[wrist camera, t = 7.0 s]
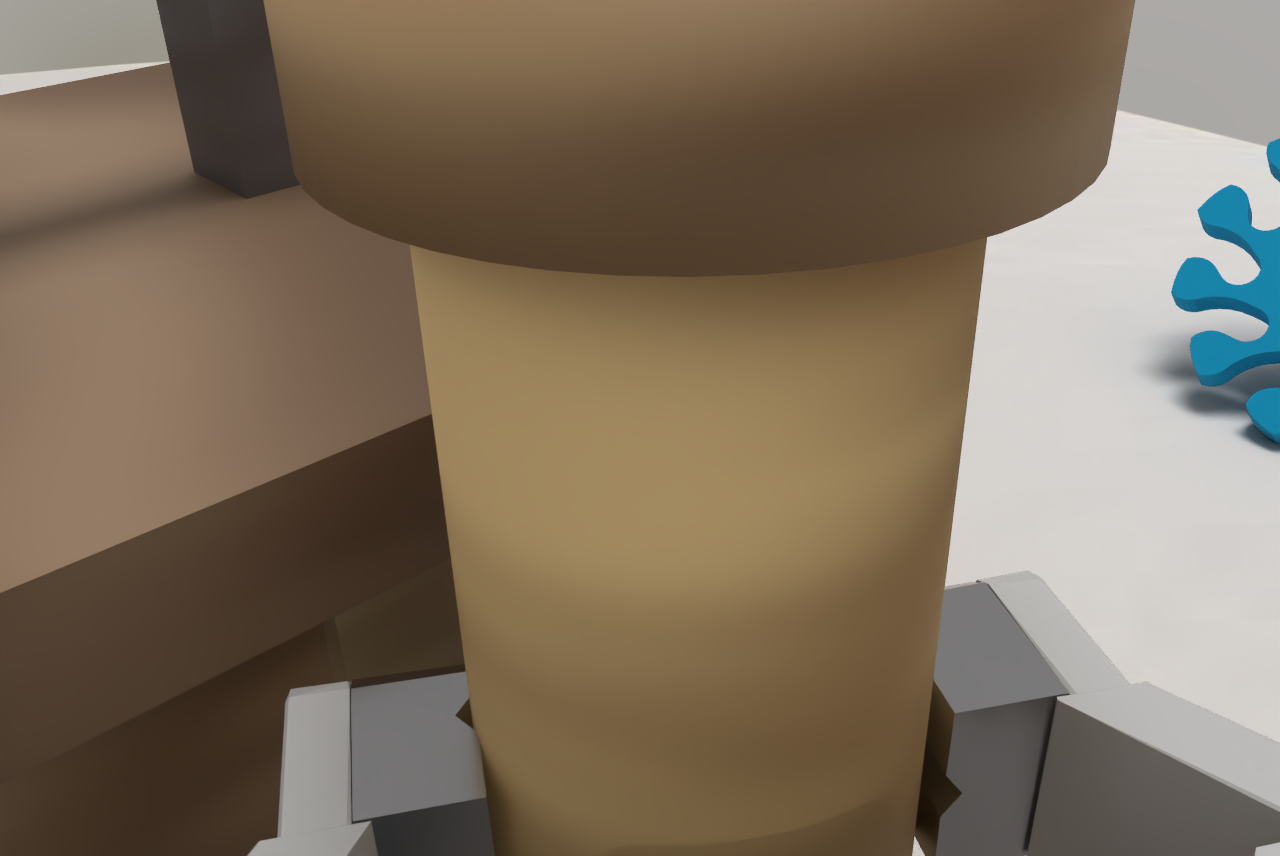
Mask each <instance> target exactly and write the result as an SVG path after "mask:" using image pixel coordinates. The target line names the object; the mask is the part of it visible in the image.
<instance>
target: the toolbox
mask: <svg viewBox="0 0 1280 856" xmlns="http://www.w3.org/2000/svg"><path fill="white" fill-rule="evenodd" d="M156 1H157V5H158V10H159V14H160V19H161V24H162V28H163V32H164V37H165V42H166V46H167V51H168V55H169V60H170V63H166V64H161V65H155V66H150V67H145V68H140V69H135V70H130V71H124V72H119V73H114V74H109V75H104V76H98V77H93V78H88V79H83V80H78V81H73V82H67V83H62V84H57V85H52V86H47V87H41V88H36V89H31V90H26V91H21V92H16V93H10V94H5V95H0V856H247V855H248V854H249V853H250V851H251V850H252V849H253V848H254V846H255V845H256V844H257V843H258V842H259V841H262V840H268V839H273V838H277V836H278V819H279V802H280V785H281V768H282V751H283V733H284V716H285V702H286V699H287V697H288V694H289V692H290V689H295V688H302V687H309V686H316V685H323V684H330V683H337V682H344V681H349V682H352V679H359V678H367V677H374V676H381V675H388V674H396V673H403V672H410V671H417V670H425V669H432V668H439V667H446V666H454V665H461V664H465V661H464V654H463V646H462V638H461V631H460V623H459V616H458V608H457V600H456V593H455V585H454V578H453V570H452V562H451V555H450V547H449V540H448V532H447V524H446V517H445V509H444V502H443V494H442V486H441V479H440V471H439V464H438V456H437V448H436V441H435V433H434V426H433V418H432V410H431V403H430V395H429V388H428V380H427V372H426V365H425V357H424V350H423V342H422V334H421V327H420V319H419V312H418V304H417V296H416V289H415V281H414V274H413V266H412V258H411V251H410V245H409V244H406V243H402V242H399V241H396V240H392V239H389V238H386V237H383V236H381V235H378V234H376V233H373V232H371V231H368V230H366V229H363V228H361V227H358V226H356V225H353V224H351V223H349V222H347V221H346V220H344V219H342V218H340V217H339V216H337V215H335V214H333V213H332V212H330V211H328V210H327V209H325V208H323V207H322V206H321V205H320V204H318V203H317V202H316V201H315V200H314V199H313V198H312V197H311V196H310V195H308V194H307V193H306V192H305V191H304V190H303V188H302V186H301V185H300V183H299V181H298V180H297V178H296V176H295V174H294V171H293V165H292V159H291V154H290V148H289V142H288V137H287V131H286V125H285V120H284V114H283V109H282V103H281V97H280V92H279V86H278V80H277V75H276V69H275V63H274V58H273V52H272V46H271V41H270V35H269V29H268V24H267V18H266V12H265V7H264V1H263V0H156Z"/></svg>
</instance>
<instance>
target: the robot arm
mask: <svg viewBox="0 0 1280 856" xmlns="http://www.w3.org/2000/svg"><path fill="white" fill-rule="evenodd" d="M915 837H916V839H917V841H918V843H919V845H920V847H921V849H922V851H923V852H924V854H925V856H1280V743H1279V742H1277V741H1274V740H1272V739H1270V738H1268V737H1266V736H1264V735H1261V734H1259V733H1257V732H1255V731H1253V730H1250V729H1248V728H1246V727H1244V726H1242V725H1239V724H1237V723H1235V722H1233V721H1231V720H1228V719H1226V718H1224V717H1222V716H1220V715H1217V714H1215V713H1213V712H1211V711H1209V710H1207V709H1204V708H1202V707H1200V706H1198V705H1196V704H1193V703H1191V702H1189V701H1187V700H1185V699H1182V698H1180V697H1178V696H1176V695H1174V694H1171V693H1169V692H1167V691H1165V690H1163V689H1161V688H1158V687H1156V686H1154V685H1152V684H1150V683H1147V682H1142V683H1136V684H1130V683H1129V682H1128V681H1127V680H1126V679H1125V677H1124V676H1123V675H1122V674H1121V673H1120V671H1119V670H1118V669H1117V668H1116V667H1115V665H1114V664H1113V663H1112V662H1111V661H1110V659H1109V658H1108V657H1107V656H1106V655H1105V654H1104V652H1103V651H1102V650H1101V649H1100V648H1099V646H1098V645H1097V644H1096V643H1095V642H1094V640H1093V639H1092V638H1091V637H1090V636H1089V635H1088V633H1087V632H1086V631H1085V630H1084V629H1083V627H1082V626H1081V625H1080V624H1079V623H1078V621H1077V620H1076V619H1075V618H1074V617H1073V615H1072V614H1071V613H1070V612H1069V611H1068V610H1067V608H1066V607H1065V606H1064V605H1063V604H1062V602H1061V601H1060V600H1059V599H1058V598H1057V596H1056V595H1055V594H1054V593H1053V592H1052V591H1051V589H1050V588H1049V587H1048V586H1047V585H1046V583H1045V582H1044V581H1043V580H1042V579H1041V578H1040V577H1039V576H1038V575H1036V574H1034V573H1032V572H1030V571H1024V572H1019V573H1013V574H1008V575H1002V576H997V577H991V578H986V579H980V580H977V581H976V582H970V583H964V584H958V585H952V586H946V587H944V596H943V604H942V612H941V620H940V629H939V637H938V645H937V653H936V662H935V670H934V678H933V686H932V695H931V703H930V711H929V719H928V727H927V736H926V744H925V752H924V760H923V769H922V777H921V785H920V793H919V802H918V810H917V818H916V826H915ZM247 856H495V852H494V844H493V836H492V829H491V821H490V813H489V805H488V798H487V791H486V784H485V776H484V769H483V762H482V754H481V747H480V740H479V737H478V735H477V733H476V731H475V730H474V729H473V722H472V714H471V707H470V699H469V692H468V684H467V676H466V669H465V664H461V665H454V666H446V667H439V668H432V669H425V670H417V671H410V672H403V673H396V674H388V675H381V676H374V677H367V678H359V679H352V682H349V681H344V682H337V683H330V684H323V685H316V686H309V687H302V688H295V689H290V692H289V694H288V697H287V699H286V702H285V716H284V733H283V751H282V768H281V785H280V802H279V819H278V836H277V838H273V839H268V840H262V841H259V842H258V843H257V844H256V845H255V846H254V848H253V849H252V850H251V851H250V853H249V854H248V855H247Z"/></svg>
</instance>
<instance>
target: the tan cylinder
mask: <svg viewBox="0 0 1280 856" xmlns="http://www.w3.org/2000/svg"><path fill="white" fill-rule="evenodd" d="M263 1H264V7H265V12H266V18H267V24H268V29H269V35H270V41H271V46H272V52H273V58H274V63H275V69H276V75H277V80H278V86H279V92H280V97H281V103H282V109H283V114H284V120H285V125H286V131H287V137H288V142H289V148H290V154H291V159H292V165H293V171H294V174H295V176H296V178H297V180H298V181H299V183H300V185H301V186H302V188H303V190H304V191H305V192H306V193H307V194H308V195H310V196H311V197H312V198H313V199H314V200H315V201H316V202H317V203H318V204H320V205H321V206H322V207H323V208H325V209H327V210H328V211H330V212H332V213H333V214H335V215H337V216H339V217H340V218H342V219H344V220H346V221H347V222H349V223H351V224H353V225H356V226H358V227H361V228H363V229H366V230H368V231H371V232H373V233H376V234H378V235H381V236H383V237H386V238H389V239H392V240H396V241H399V242H402V243H406V244H409V245H410V251H411V258H412V266H413V274H414V281H415V289H416V296H417V304H418V312H419V319H420V327H421V334H422V342H423V350H424V357H425V365H426V372H427V380H428V388H429V395H430V403H431V410H432V418H433V426H434V433H435V441H436V448H437V456H438V464H439V471H440V479H441V486H442V494H443V502H444V509H445V517H446V524H447V532H448V540H449V547H450V555H451V562H452V570H453V578H454V585H455V593H456V600H457V608H458V616H459V623H460V631H461V638H462V646H463V654H464V661H465V669H466V676H467V684H468V692H469V699H470V707H471V714H472V722H473V729H474V730H475V731H476V733H477V735H478V737H479V740H480V747H481V754H482V762H483V769H484V776H485V784H486V791H487V798H488V805H489V813H490V821H491V829H492V836H493V844H494V852H495V856H912V851H913V843H914V835H915V826H916V818H917V810H918V802H919V793H920V785H921V777H922V769H923V760H924V752H925V744H926V736H927V727H928V719H929V711H930V703H931V695H932V686H933V678H934V670H935V662H936V653H937V645H938V637H939V629H940V620H941V612H942V604H943V596H944V587H945V579H946V571H947V563H948V555H949V546H950V538H951V530H952V522H953V513H954V505H955V497H956V489H957V480H958V472H959V464H960V456H961V447H962V439H963V431H964V423H965V415H966V406H967V398H968V390H969V382H970V373H971V365H972V357H973V349H974V340H975V332H976V324H977V316H978V307H979V299H980V291H981V283H982V275H983V266H984V258H985V250H986V242H987V237H989V236H993V235H996V234H999V233H1002V232H1005V231H1007V230H1010V229H1012V228H1015V227H1018V226H1020V225H1023V224H1025V223H1028V222H1030V221H1033V220H1035V219H1038V218H1040V217H1043V216H1044V215H1046V214H1048V213H1050V212H1052V211H1053V210H1055V209H1057V208H1059V207H1061V206H1063V205H1064V204H1066V203H1068V202H1070V201H1072V200H1073V199H1074V198H1076V197H1077V196H1078V195H1079V194H1081V193H1082V192H1083V191H1084V190H1085V189H1087V188H1088V187H1089V186H1090V185H1092V184H1093V183H1094V182H1095V181H1096V179H1097V178H1098V176H1099V175H1100V173H1101V172H1102V171H1103V169H1104V168H1105V166H1106V165H1107V160H1108V156H1109V151H1110V146H1111V140H1112V134H1113V128H1114V122H1115V116H1116V111H1117V105H1118V99H1119V93H1120V87H1121V80H1122V75H1123V69H1124V63H1125V57H1126V51H1127V45H1128V39H1129V33H1130V27H1131V21H1132V15H1133V9H1134V3H1135V0H263Z"/></svg>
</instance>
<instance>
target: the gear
mask: <svg viewBox="0 0 1280 856" xmlns="http://www.w3.org/2000/svg"><path fill="white" fill-rule="evenodd" d="M1267 158H1268V162H1269V167H1270V171H1271V174H1272V175H1273V177H1274V178H1276V179H1277V180H1278V181H1279V182H1280V139H1277V140H1275V141H1272V142H1270V143H1269V144H1268V147H1267ZM1198 214H1199V217H1200V220H1201V223H1202V226H1203V229H1204V230H1205V232H1206V233H1207V234H1208V235H1209V236H1211V237H1213V238H1216V239H1221V240H1225V241H1228V242H1231V243H1233V244H1236V245H1237V246H1239V247H1241V248H1243V249H1244V250H1245V251H1246V252H1247V253H1249V254H1250V255H1251V256H1252V258H1253V259H1254V260H1255V261H1256V263H1257V264H1258V266H1259V268H1260V269H1261V271H1260V273H1259V275H1258V276H1257V277H1256V278H1255V279H1254V280H1253V281H1251V282H1249V283H1247V284H1243V285H1232V284H1230V283H1227V282H1226V281H1225V280H1224V279H1223V278H1222V277H1221V275H1220V274H1219V272H1218V270H1217V269H1216V267H1215V266H1214V265H1213V263H1211V262H1210V261H1208V260H1206V259H1204V258H1197V257H1193V258H1187V260H1186V261H1185V262H1184V263H1183V264H1182V266H1181V268H1180V269H1179V271H1178V273H1177V276H1176V278H1175V281H1174V284H1173V288H1172V292H1171V293H1172V296H1173V298H1174V301H1175V303H1176V305H1177V306H1178V307H1179V308H1181V309H1183V310H1185V311H1189V312H1200V311H1204V310H1210V309H1231V310H1235V311H1240V312H1243V313H1246V314H1248V315H1251V316H1253V317H1255V318H1257V319H1259V320H1261V321H1263V322H1265V323H1266V324H1268V325H1269V327H1268V330H1267V332H1266V333H1265V334H1264V335H1263V336H1262V337H1261V338H1259V339H1257V340H1254V341H1251V342H1242V341H1238V340H1236V339H1234V338H1232V337H1230V336H1228V335H1226V334H1224V333H1221V332H1218V331H1205V332H1201V333H1199V334H1196V335H1195V336H1193V337H1192V338H1191V344H1190V349H1191V356H1192V360H1193V364H1194V366H1195V369H1196V372H1197V375H1198V377H1199V379H1200V382H1201V384H1202V385H1205V386H1217V385H1222V384H1224V383H1226V382H1228V381H1229V380H1230V379H1232V378H1233V377H1235V376H1236V375H1238V374H1240V373H1242V372H1243V371H1245V370H1248V369H1251V368H1254V367H1256V366H1261V365H1266V364H1275V363H1280V227H1278V228H1276V229H1274V230H1270V231H1262V230H1258V229H1255V228H1254V227H1252V226H1251V224H1252V212H1251V208H1250V204H1249V200H1248V197H1247V194H1246V193H1245V192H1244V191H1243V190H1242V189H1241V188H1239V187H1237V186H1234V185H1229V186H1227V187H1225V188H1223V189H1221V190H1220V191H1218V192H1217V193H1215V194H1214V195H1213V196H1212V197H1210V198H1209V199H1208V200H1207V201H1206V202H1205V203H1204V204H1203V205H1202V206H1201V207H1200V208H1199V209H1198ZM1246 408H1247V411H1248V413H1249V416H1250V418H1251V420H1252V422H1253V423H1254V425H1255V426H1256V427H1257V428H1258V430H1260V431H1261V432H1262V433H1263V434H1264V435H1265V436H1266V437H1268V438H1269V439H1271V440H1272V441H1274V442H1275V443H1277V444H1280V388H1266V389H1262V390H1260V391H1258V392H1256V393H1255V394H1253V395H1252V396H1251V397H1250V398H1249V399H1248V401H1247V403H1246Z"/></svg>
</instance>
